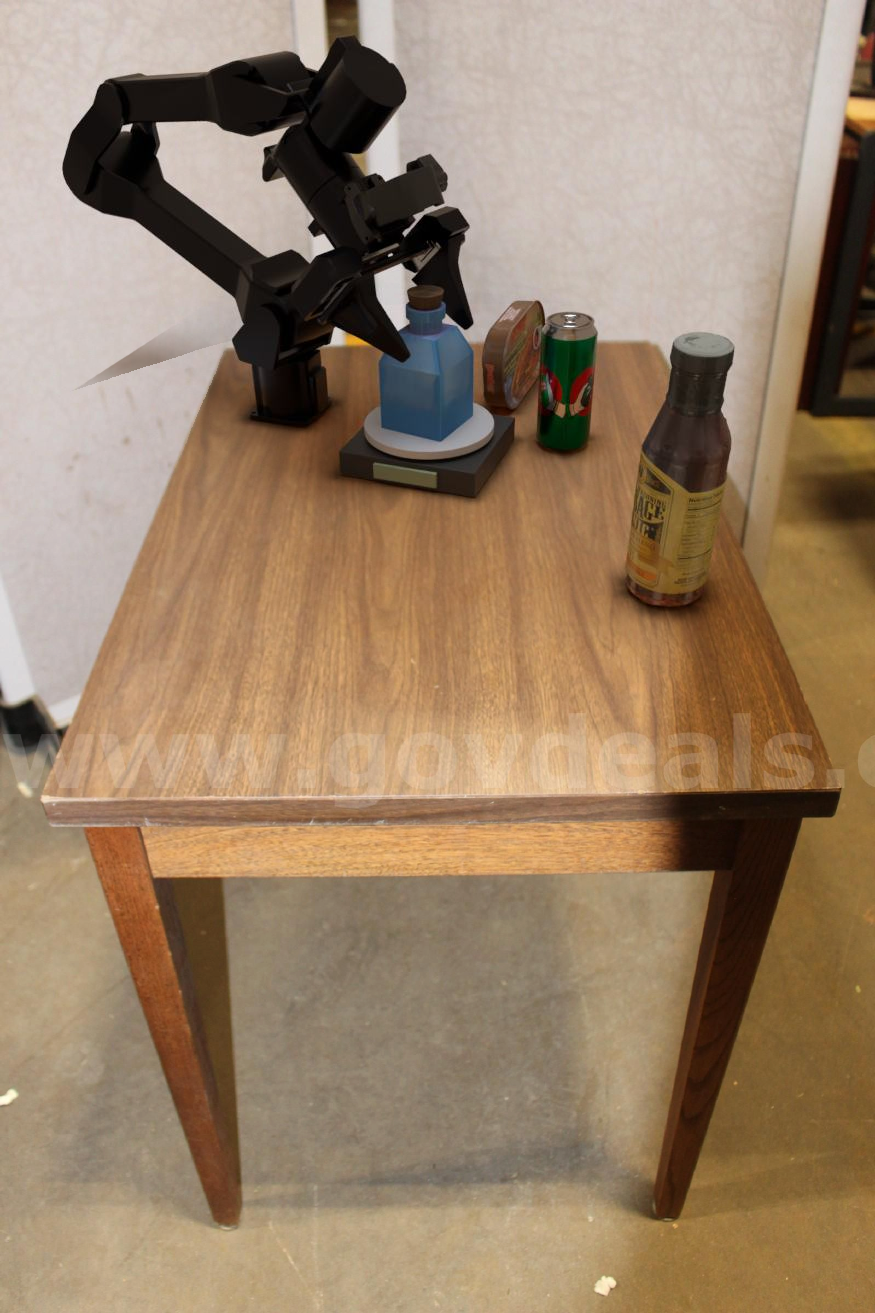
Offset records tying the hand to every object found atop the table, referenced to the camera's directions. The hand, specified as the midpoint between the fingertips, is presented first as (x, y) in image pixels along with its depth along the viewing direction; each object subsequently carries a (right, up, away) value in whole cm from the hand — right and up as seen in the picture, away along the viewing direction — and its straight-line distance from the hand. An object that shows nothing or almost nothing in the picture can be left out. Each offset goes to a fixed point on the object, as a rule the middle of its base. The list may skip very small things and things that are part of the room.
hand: (439, 342), depth 93 cm
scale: (-1, -9, +8) cm, 11 cm away
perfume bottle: (-1, -6, +5) cm, 8 cm away
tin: (+8, 0, +19) cm, 21 cm away
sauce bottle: (+17, -22, -11) cm, 30 cm away
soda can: (+12, -7, +10) cm, 17 cm away
